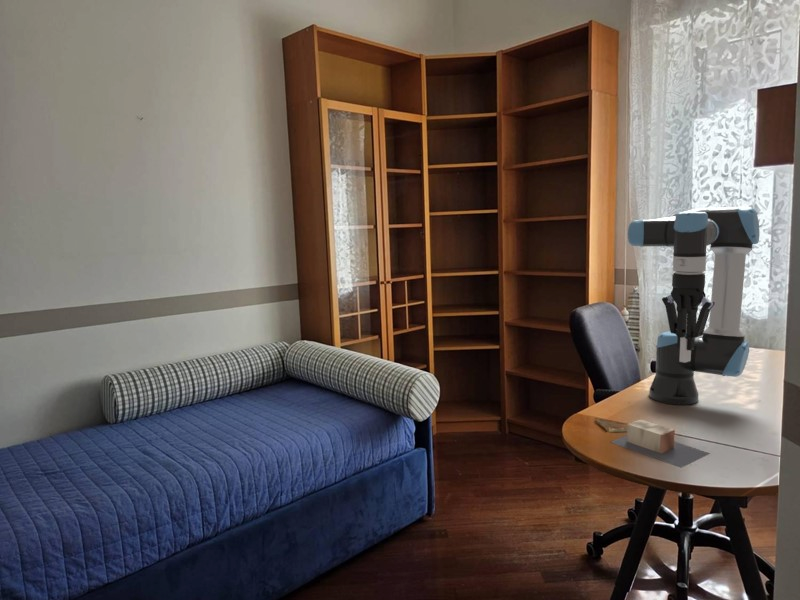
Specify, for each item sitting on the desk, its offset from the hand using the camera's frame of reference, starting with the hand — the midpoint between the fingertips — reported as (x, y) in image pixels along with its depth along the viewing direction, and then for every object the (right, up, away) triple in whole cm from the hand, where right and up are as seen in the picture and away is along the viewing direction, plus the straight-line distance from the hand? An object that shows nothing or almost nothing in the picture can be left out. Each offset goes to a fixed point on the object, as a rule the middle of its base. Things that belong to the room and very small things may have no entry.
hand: (684, 361), depth 146 cm
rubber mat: (-6, -24, +2) cm, 25 cm away
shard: (-13, -23, +18) cm, 32 cm away
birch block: (-5, -21, 0) cm, 22 cm away
